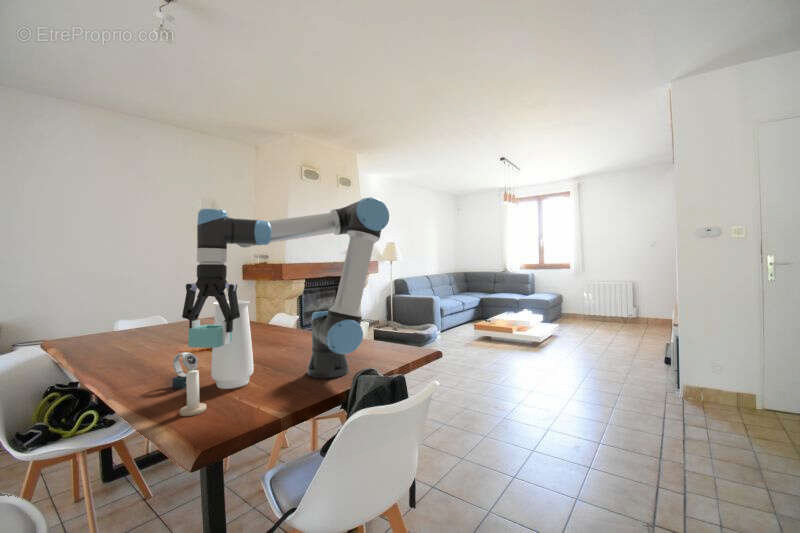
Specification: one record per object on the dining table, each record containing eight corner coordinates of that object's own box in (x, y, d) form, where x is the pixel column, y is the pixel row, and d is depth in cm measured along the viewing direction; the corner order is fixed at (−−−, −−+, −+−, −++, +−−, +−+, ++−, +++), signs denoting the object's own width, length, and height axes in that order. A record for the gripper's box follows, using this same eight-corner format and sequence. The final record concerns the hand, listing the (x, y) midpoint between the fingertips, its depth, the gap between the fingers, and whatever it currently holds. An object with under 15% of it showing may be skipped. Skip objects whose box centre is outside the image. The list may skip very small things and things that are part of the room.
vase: (257, 376, 126) (255, 299, 126) (249, 388, 114) (247, 303, 113) (218, 379, 124) (216, 300, 123) (206, 392, 111) (204, 305, 111)
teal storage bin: (232, 341, 103) (232, 324, 103) (217, 347, 95) (217, 329, 95) (205, 341, 103) (205, 324, 103) (188, 347, 95) (188, 329, 95)
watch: (188, 389, 114) (187, 355, 114) (168, 387, 116) (167, 354, 116) (201, 383, 120) (201, 351, 120) (182, 381, 122) (182, 350, 122)
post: (211, 406, 100) (210, 368, 100) (197, 416, 93) (196, 375, 93) (189, 406, 100) (188, 368, 100) (174, 416, 93) (173, 375, 93)
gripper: (253, 264, 103) (252, 341, 102) (184, 263, 103) (183, 340, 103) (241, 264, 95) (240, 347, 95) (167, 263, 96) (165, 345, 95)
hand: (210, 343), depth 99 cm, fingers closed on teal storage bin, 8 cm apart
